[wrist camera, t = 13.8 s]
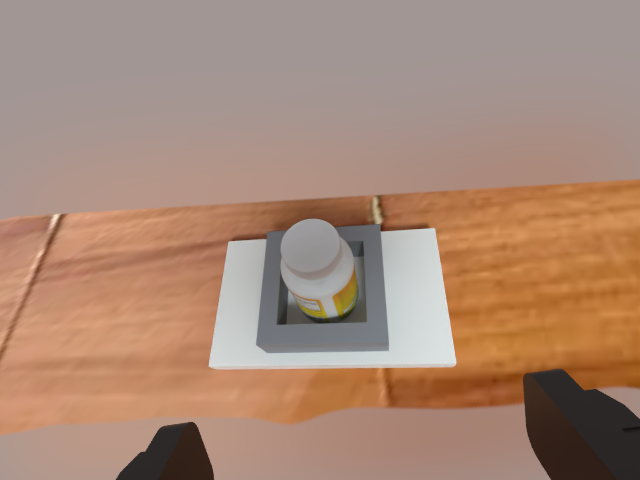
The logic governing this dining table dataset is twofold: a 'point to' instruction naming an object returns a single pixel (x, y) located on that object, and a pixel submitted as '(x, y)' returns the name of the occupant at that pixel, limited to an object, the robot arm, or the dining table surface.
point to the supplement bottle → (319, 271)
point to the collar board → (349, 334)
